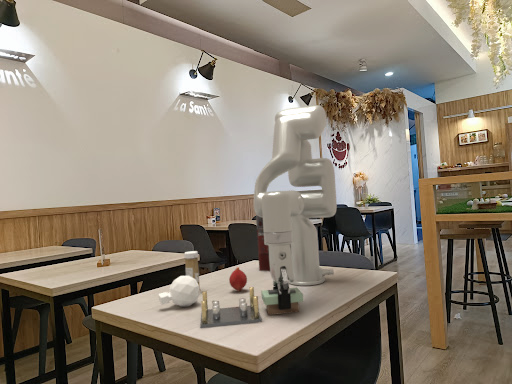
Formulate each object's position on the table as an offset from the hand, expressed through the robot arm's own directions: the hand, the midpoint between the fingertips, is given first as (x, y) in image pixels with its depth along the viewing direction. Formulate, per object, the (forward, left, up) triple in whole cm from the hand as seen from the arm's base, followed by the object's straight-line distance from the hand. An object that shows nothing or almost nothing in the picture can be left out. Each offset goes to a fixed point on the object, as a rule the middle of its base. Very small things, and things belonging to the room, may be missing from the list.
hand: (282, 304), depth 102 cm
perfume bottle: (+28, -14, -2) cm, 31 cm away
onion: (+10, -25, -2) cm, 27 cm away
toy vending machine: (-6, -57, -2) cm, 57 cm away
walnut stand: (0, 0, -2) cm, 2 cm away
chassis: (+14, +1, -2) cm, 14 cm away
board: (0, 0, +1) cm, 1 cm away
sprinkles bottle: (+25, -30, -2) cm, 39 cm away
